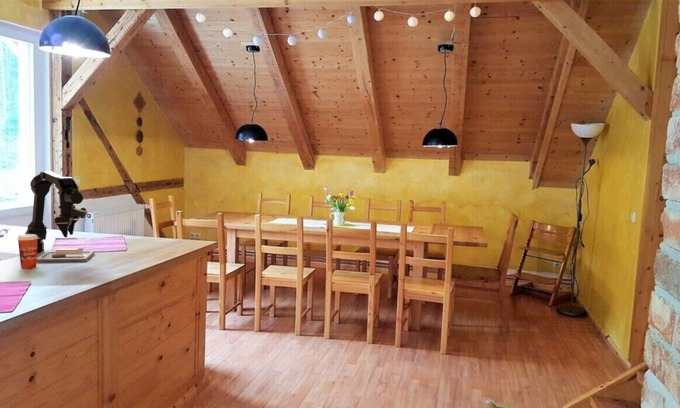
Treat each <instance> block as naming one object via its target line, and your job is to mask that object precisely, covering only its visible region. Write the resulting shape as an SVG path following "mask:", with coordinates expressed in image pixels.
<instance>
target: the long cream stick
mask: <svg viewBox="0 0 680 408" xmlns="http://www.w3.org/2000/svg"><path fill="white" fill-rule="evenodd" d="M55 251H56V253H54V254H52V257H64V256H66V255H82V254H84V251H85V250H84V247H78V248H55Z"/></svg>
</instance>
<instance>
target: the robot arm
mask: <svg viewBox="0 0 680 408" xmlns="http://www.w3.org/2000/svg"><path fill="white" fill-rule="evenodd" d="M29 184H30V190H31V192H32V193H33V194H34V195H33V207H32V208H33V209H32V219H31V221H30V223H28V226H27V230H26V231H25V233H24V234H35V235H37V237H38V239H37V254H40V253H42V252H44V251H45V243H44V240H45V241H46V239H47V233H48V231H47V228H48V227H47V226H46V225H45V223H44V216H45V215H44V213H45V204H46V203H45V202H46V196H47V195H48V194H49V193H50V190H51V187H52V186H53V184H54V187H55V188H57V190H58V191H57V194H58V198H59V206H58V209H59V210H60V211H59V213H60V214H58V216H56V217H55V218H54V224H55V225H57V227H58V229H59V231H60V232H61V234H62V236H63V238H68V235H70V236H72V235H74V230H75V227H76V226H75V225H76V223H77V222H78V221H79V219H86V218H87V215H88V211H87V209H86V208H85V207H81V208H76V205H79V204H81V203H83V201H84V196H83V193H81V192H79V186H78V185H77V183H76V180H75V179H74V178H73V177H72V176H62V175H60V174H57V173H55V172H54V171H52V170H43V171H40V173H38V175H35V176H34V177H32V180H30V183H29Z"/></svg>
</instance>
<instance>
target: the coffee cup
mask: <svg viewBox="0 0 680 408" xmlns="http://www.w3.org/2000/svg"><path fill="white" fill-rule="evenodd" d="M37 239H38V237H37V235H35V234H25V233H24V234H19V235H18V237H17V238H16V240H17V243H18V251H19V252H18V253H19V261H20V262H19V263H20V268H21V269H22V270H31V269H35V268H37V264H38V263H37V258H38V253H37Z"/></svg>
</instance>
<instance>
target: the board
mask: <svg viewBox="0 0 680 408" xmlns="http://www.w3.org/2000/svg"><path fill="white" fill-rule="evenodd" d="M83 251H84V254H82V255H66V256H64V257H52V254H54V253H56V250H54V251H53V250H51V251H49V250H48V251H46V252H45V253H43V254H41V255H40V256H37V263H36V264H38V263H39V264H40V263H41V264H42V263H43V264H44V263H86V262H88V261H89V260H90V259H91V258H92V257H93V256H94V255H95V250H83Z"/></svg>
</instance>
